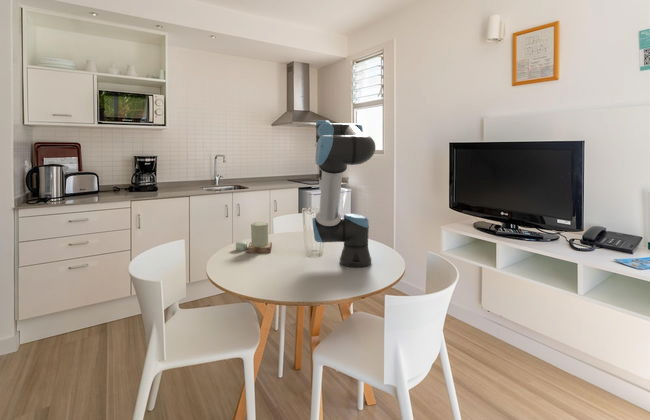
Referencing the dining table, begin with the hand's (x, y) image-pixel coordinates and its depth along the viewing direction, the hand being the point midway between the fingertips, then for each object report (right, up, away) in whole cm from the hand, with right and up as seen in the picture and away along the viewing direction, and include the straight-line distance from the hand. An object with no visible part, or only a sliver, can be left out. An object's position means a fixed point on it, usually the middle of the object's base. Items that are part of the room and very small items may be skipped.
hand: (322, 190), depth 195 cm
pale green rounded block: (-44, -32, +1) cm, 54 cm away
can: (-34, -29, 0) cm, 45 cm away
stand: (-34, -32, +1) cm, 46 cm away
